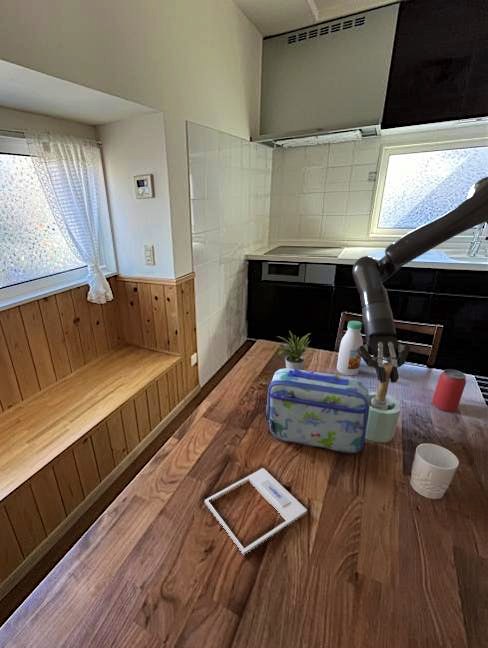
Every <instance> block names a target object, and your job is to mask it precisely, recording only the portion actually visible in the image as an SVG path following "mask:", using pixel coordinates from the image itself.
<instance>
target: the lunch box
mask: <svg viewBox="0 0 488 648" xmlns="http://www.w3.org/2000/svg"><path fill="white" fill-rule="evenodd" d="M369 392H370V390H369V387H368V386H367V384H365V382H364V381H361V380H359V379H356V378H353V377H349V376H345V375H344V376H343V375H338V374H333V373H325V372H318V371H311V370H305V369H302V370H297V369H288V368H286V367H284V368H280V369H278V370H277V371H275V372H274V374H273V377H272V379H271V381H270V383H269V384H268V387H267V402H266V403H267V404H265V421H267V427H268V430H269V432H270V434H271V436H272V437H273V438H274V439H276V440H277V441H281V442H287V443H288V442H289V443H294V444H299V445H304V446H310V447H317V448H323V449H327V450H329V451H335V452H339V453H343V454H358V453H360V452H361V451H362V450H363V448H364V446H365V442H366V438H365V435H366V429H367V424H368V419H369V411H370V404H369Z"/></svg>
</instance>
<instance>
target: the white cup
mask: <svg viewBox="0 0 488 648" xmlns="http://www.w3.org/2000/svg"><path fill="white" fill-rule="evenodd" d="M412 462H413V463H412V465H411V466H412V467H411V471H410V474H411V475H410V480H409V481H410V482H409V483H410V486H411V488H412V490H413V491H415V492H416V493H417V494H419V495H420V496H423V497H424V498H426V499H430V500H440V499H442V498H443V497H444V496H445V494H446V492H447V490H448V489H449V486H450V484H451V483H452V480H453V478H454V476H455V474H456V472H457V469H458V467H459V464H460V461H459V458H458V457H457V455H455V454H454V453H453V452H452V451H450V450H449V449H447V448H445V447H443V446H441V445H439V444H435V443H427V442H426V443H420V444H419V445H417V446H416V448H415V453H414V457H413V461H412Z"/></svg>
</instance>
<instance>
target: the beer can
mask: <svg viewBox="0 0 488 648" xmlns="http://www.w3.org/2000/svg"><path fill="white" fill-rule="evenodd" d="M466 377H467V376H466V374H465V373H464V372H462V371H460V370H457V369H453V368H451V369H450V368H447V369H446V368H445V369H443V371H442V373H441V374H440V375H439V377H438V380H437V384H436V386H435V389H434V393H433V397H432V400H431V403H432V405H433V406H434V407H435V408H437V409H438V410H441V411H444V412H456V411H457V410H458V407H459V405H460V402H461V399H462V396H463V393H464V390H465V387H466V384H467V378H466Z"/></svg>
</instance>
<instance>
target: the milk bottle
mask: <svg viewBox="0 0 488 648" xmlns="http://www.w3.org/2000/svg"><path fill="white" fill-rule="evenodd" d="M362 327H363V322H361V321H359V320H349V321H348V322H347V330H346V331H345V334H344V335H343V337H342V338H341V340H340V343H339V349H338V357H337V363H336V370H337V371H338V372H339V373H341V374H342V375H344V376H345V375H346V376H355V375H357V374H358V373H359V371H360V367H361V362H362V357H361V356H360V355H359V353H358V352H357V349H358V348H359V347H360V346H363V345H364V340H363V338H362V334H361V331H362Z"/></svg>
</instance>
